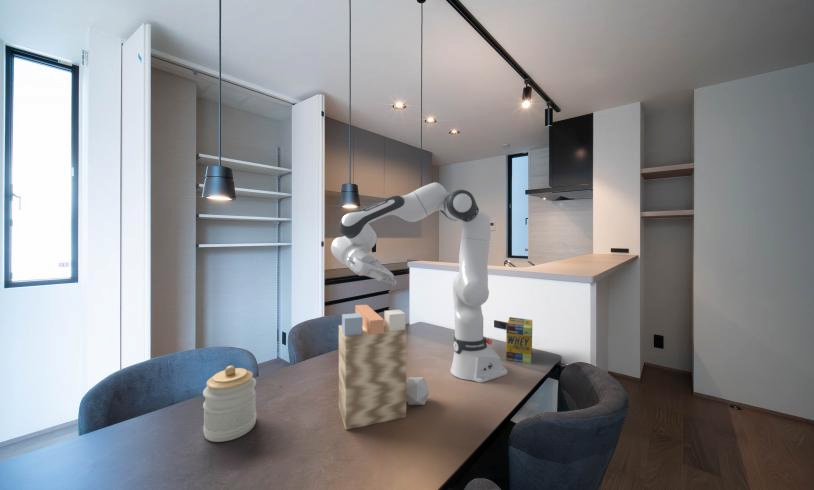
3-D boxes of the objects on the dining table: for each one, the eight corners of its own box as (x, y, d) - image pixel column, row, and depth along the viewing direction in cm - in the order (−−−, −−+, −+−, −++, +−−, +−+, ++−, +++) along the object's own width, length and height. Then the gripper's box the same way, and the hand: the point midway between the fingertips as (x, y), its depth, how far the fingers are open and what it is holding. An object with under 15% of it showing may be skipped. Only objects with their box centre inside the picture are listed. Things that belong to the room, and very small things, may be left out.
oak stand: (392, 396, 106) (393, 320, 105) (406, 416, 94) (406, 330, 93) (338, 406, 99) (338, 325, 98) (345, 429, 88) (345, 337, 87)
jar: (219, 450, 79) (218, 380, 79) (194, 432, 86) (193, 369, 86) (266, 423, 90) (265, 363, 90) (240, 410, 97) (239, 353, 97)
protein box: (505, 360, 137) (506, 325, 137) (508, 348, 151) (509, 316, 151) (531, 364, 133) (532, 328, 133) (532, 351, 147) (532, 319, 147)
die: (420, 415, 96) (436, 385, 99) (397, 398, 97) (413, 370, 100) (419, 410, 104) (434, 383, 107) (397, 395, 105) (412, 369, 108)
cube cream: (399, 325, 99) (399, 309, 99) (405, 329, 94) (405, 313, 94) (384, 326, 97) (384, 310, 97) (389, 331, 92) (389, 314, 92)
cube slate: (358, 329, 94) (358, 313, 94) (362, 334, 90) (362, 317, 89) (342, 331, 92) (341, 314, 92) (344, 336, 88) (344, 318, 88)
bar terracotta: (366, 315, 110) (366, 304, 110) (383, 333, 91) (383, 319, 91) (355, 316, 109) (355, 305, 109) (370, 334, 89) (370, 320, 89)
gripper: (349, 249, 109) (376, 267, 102) (380, 261, 126) (406, 278, 119) (340, 265, 109) (367, 284, 102) (373, 275, 127) (397, 292, 119)
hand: (388, 281), depth 111 cm, fingers open, 8 cm apart
